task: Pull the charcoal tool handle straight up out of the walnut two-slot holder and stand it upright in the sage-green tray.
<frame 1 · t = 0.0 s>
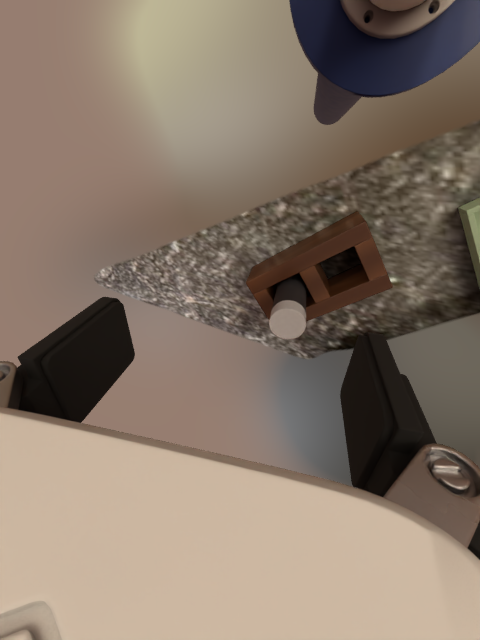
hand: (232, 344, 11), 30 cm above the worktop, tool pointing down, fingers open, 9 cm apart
tool handle: (292, 278, 40), resting in holder
holder: (314, 268, 39), on the worktop
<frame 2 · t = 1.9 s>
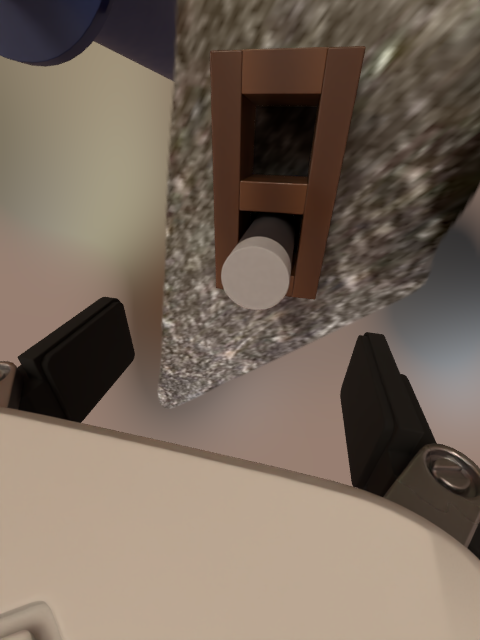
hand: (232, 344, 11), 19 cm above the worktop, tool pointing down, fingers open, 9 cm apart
tool handle: (275, 226, 26), resting in holder
holder: (278, 187, 24), on the worktop
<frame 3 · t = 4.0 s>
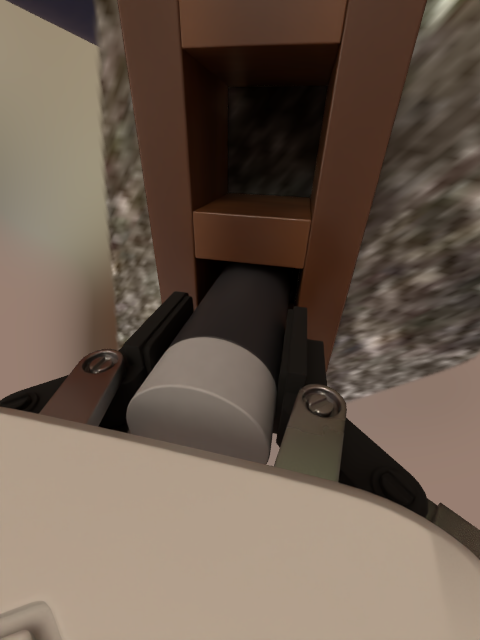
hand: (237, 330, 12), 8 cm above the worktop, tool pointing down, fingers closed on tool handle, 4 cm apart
tool handle: (262, 266, 18), resting in holder, touching gripper
holder: (266, 213, 16), on the worktop
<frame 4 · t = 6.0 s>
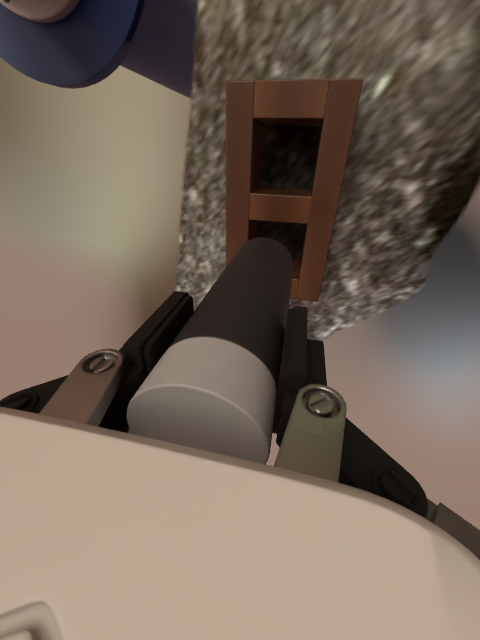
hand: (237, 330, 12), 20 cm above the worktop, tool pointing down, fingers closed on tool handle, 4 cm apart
tool handle: (263, 267, 18), point 12 cm above the worktop, touching gripper
holder: (284, 198, 26), on the worktop
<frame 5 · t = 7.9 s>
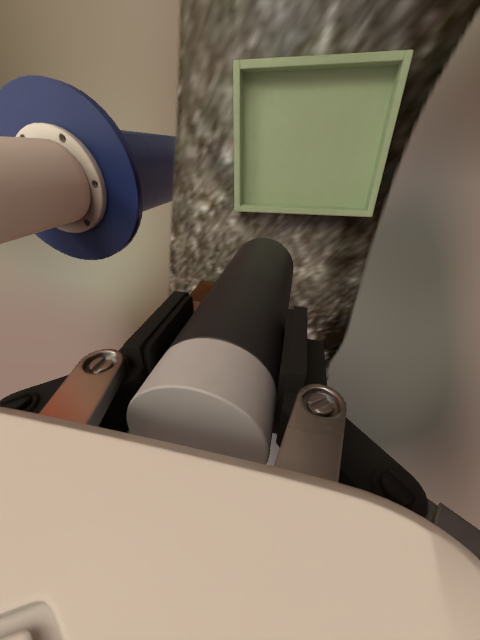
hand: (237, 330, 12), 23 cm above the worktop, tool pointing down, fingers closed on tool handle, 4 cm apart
tool handle: (262, 267, 18), point 16 cm above the worktop, touching gripper
tray: (308, 145, 27), on the worktop
holder: (232, 330, 41), on the worktop
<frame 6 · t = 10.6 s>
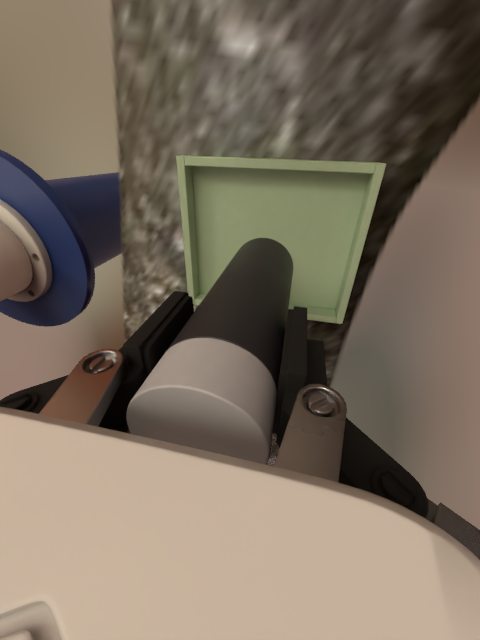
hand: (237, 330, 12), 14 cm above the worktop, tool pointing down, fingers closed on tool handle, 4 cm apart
tool handle: (263, 267, 18), point 6 cm above the worktop, touching gripper
tray: (270, 241, 23), on the worktop
when the fingers open (8 cm above the worktop, at t = 12.2 s): tool handle stays where it is, resting on tray.
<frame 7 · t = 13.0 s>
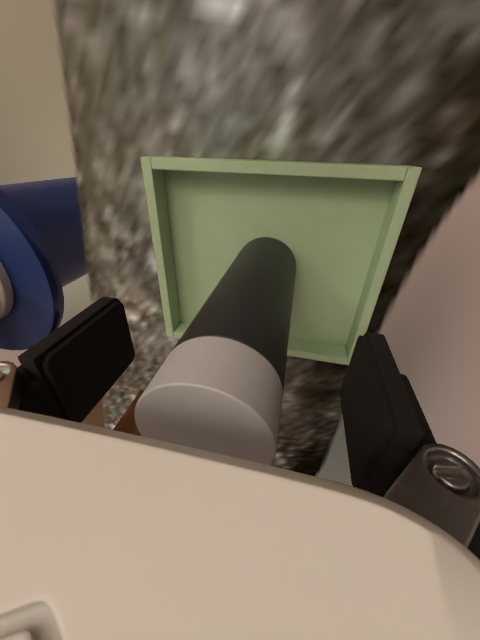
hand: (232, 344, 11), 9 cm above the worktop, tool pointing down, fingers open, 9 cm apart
tool handle: (265, 266, 18), point 1 cm above the worktop, touching tray
tray: (265, 263, 19), on the worktop
holder: (184, 442, 32), on the worktop
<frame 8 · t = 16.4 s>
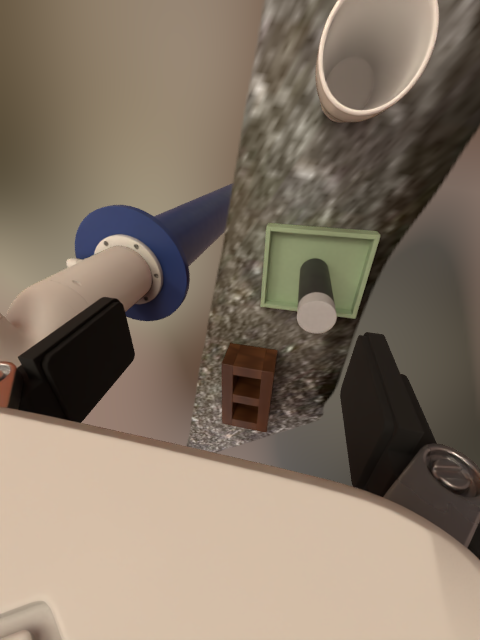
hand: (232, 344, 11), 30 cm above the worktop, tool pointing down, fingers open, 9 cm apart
tool handle: (314, 271, 39), point 1 cm above the worktop, touching tray
tray: (313, 269, 39), on the worktop
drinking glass: (345, 92, 29), on the worktop
holder: (251, 377, 53), on the worktop
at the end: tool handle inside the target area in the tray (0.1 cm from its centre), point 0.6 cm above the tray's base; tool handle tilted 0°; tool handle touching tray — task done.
